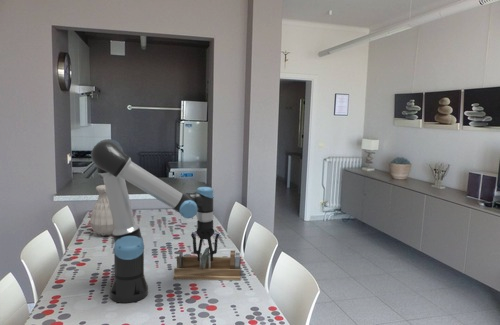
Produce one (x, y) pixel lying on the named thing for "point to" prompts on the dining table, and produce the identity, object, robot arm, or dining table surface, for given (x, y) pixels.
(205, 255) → the stone
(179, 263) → the bookend
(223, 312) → the dining table surface
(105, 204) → the vase
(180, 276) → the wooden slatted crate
